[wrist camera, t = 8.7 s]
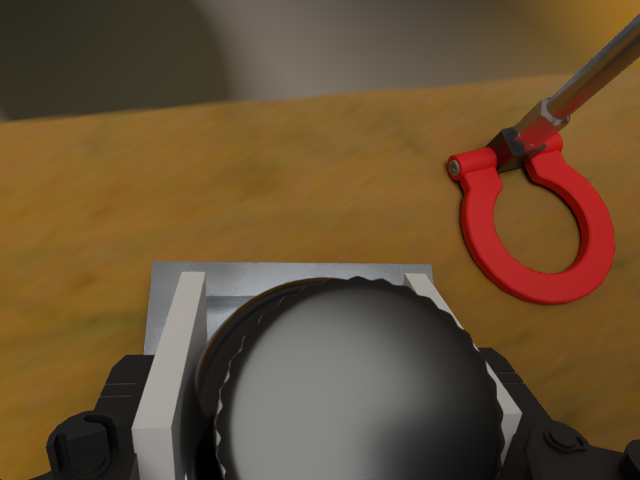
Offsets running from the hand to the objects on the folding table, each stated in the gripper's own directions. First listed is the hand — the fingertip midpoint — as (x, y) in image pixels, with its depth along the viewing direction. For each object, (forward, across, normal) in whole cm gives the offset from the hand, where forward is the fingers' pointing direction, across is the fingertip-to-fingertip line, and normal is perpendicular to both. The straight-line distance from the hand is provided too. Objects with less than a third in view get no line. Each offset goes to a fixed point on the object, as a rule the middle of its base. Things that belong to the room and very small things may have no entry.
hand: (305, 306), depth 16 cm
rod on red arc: (+10, +14, 0) cm, 17 cm away
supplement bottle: (0, 0, -6) cm, 6 cm away
